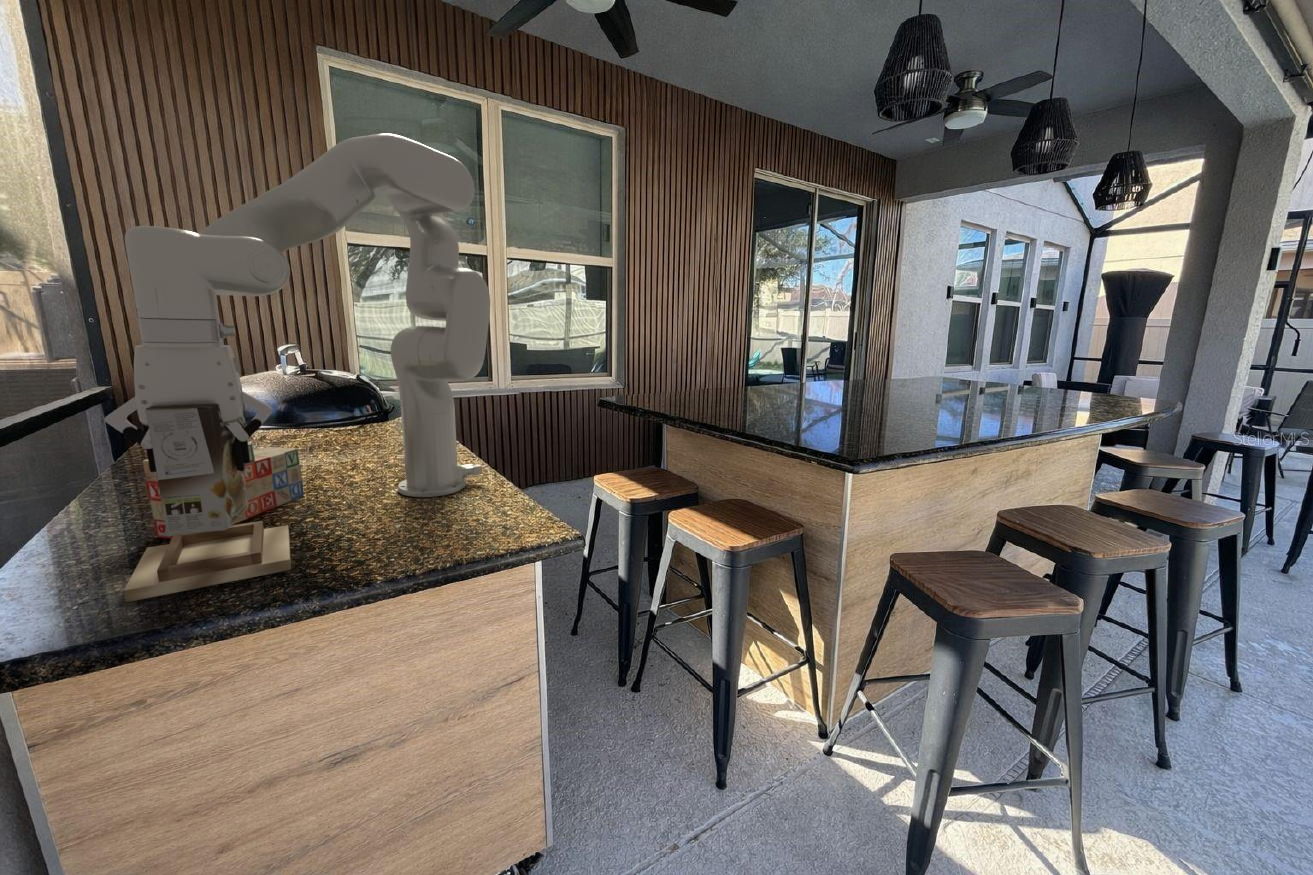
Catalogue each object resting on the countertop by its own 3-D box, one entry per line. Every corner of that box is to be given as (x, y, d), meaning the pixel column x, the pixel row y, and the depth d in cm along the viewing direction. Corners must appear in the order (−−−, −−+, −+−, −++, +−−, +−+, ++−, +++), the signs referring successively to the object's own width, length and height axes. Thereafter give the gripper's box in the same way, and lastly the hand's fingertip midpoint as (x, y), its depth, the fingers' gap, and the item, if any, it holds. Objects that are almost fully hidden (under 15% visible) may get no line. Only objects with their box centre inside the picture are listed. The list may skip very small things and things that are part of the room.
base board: (289, 534, 82) (286, 515, 82) (291, 569, 71) (288, 548, 71) (149, 557, 73) (145, 537, 73) (126, 602, 62) (121, 578, 62)
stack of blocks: (275, 494, 101) (266, 430, 98) (305, 496, 100) (297, 432, 97) (155, 538, 80) (140, 459, 77) (191, 541, 79) (177, 461, 76)
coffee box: (229, 530, 68) (211, 406, 65) (165, 537, 65) (142, 408, 62) (250, 507, 76) (234, 396, 73) (194, 512, 74) (175, 397, 70)
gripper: (269, 334, 74) (284, 458, 77) (91, 332, 64) (118, 474, 68) (268, 336, 68) (284, 470, 71) (71, 334, 58) (102, 490, 62)
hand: (203, 471), depth 69 cm, fingers closed on coffee box, 7 cm apart
